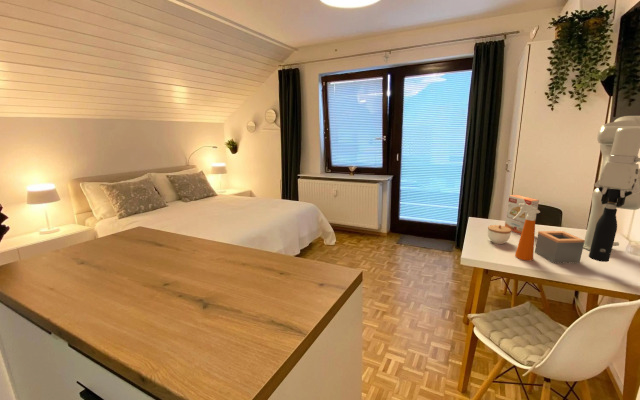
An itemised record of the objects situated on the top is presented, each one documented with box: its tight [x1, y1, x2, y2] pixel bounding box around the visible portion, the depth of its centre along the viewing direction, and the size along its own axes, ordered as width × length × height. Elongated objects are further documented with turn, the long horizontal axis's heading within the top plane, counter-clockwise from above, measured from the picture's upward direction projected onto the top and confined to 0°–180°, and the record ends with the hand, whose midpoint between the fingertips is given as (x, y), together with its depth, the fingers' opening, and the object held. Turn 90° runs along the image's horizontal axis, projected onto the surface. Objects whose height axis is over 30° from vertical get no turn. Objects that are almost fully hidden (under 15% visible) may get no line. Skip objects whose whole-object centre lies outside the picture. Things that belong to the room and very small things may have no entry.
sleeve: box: [534, 230, 585, 264], centre depth 139 cm, size 12×12×11 cm
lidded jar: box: [487, 224, 512, 245], centre depth 159 cm, size 11×11×9 cm
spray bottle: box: [513, 203, 541, 261], centre depth 138 cm, size 7×11×26 cm, turn 77°
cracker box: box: [504, 194, 540, 235], centre depth 172 cm, size 14×6×21 cm, turn 17°
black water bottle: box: [588, 189, 620, 263], centre depth 123 cm, size 6×6×30 cm
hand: (611, 204), depth 120 cm, fingers closed on black water bottle, 3 cm apart
